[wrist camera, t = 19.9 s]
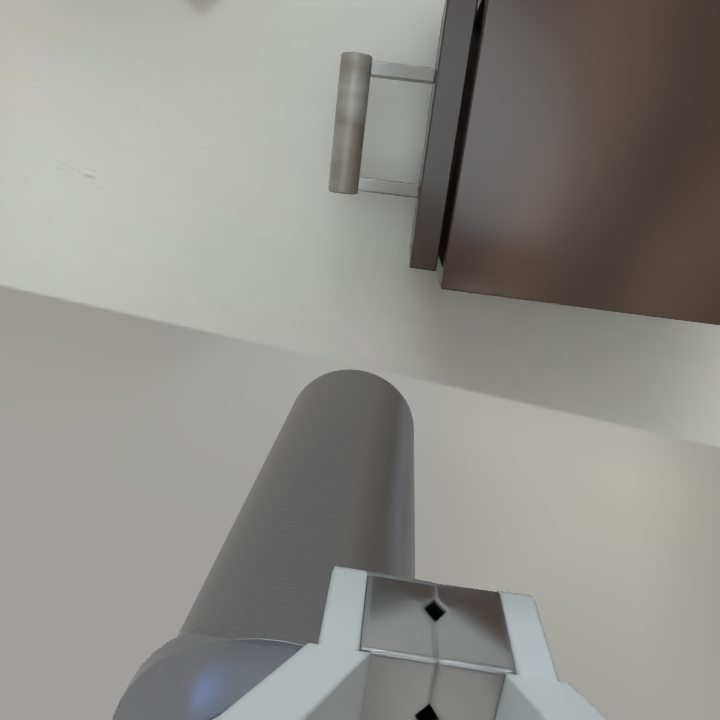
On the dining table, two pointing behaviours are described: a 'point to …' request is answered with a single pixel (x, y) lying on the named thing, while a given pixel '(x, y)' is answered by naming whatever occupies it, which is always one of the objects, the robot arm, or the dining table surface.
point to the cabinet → (590, 157)
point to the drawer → (438, 133)
